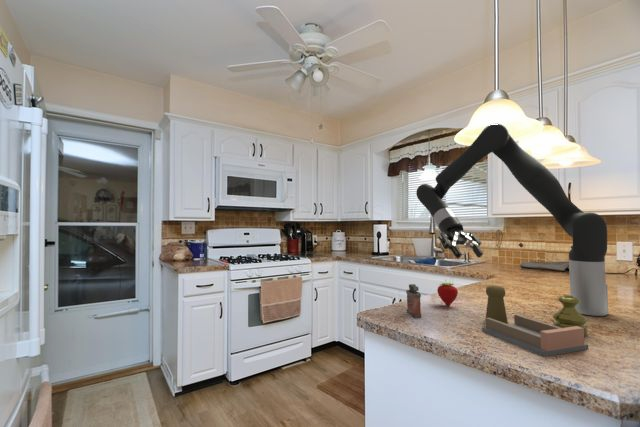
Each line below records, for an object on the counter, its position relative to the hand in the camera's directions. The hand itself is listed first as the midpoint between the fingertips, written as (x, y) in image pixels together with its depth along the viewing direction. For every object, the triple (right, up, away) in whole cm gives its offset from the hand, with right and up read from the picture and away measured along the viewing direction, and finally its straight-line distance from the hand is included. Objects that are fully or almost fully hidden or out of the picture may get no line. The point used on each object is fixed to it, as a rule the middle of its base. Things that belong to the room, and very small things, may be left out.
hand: (470, 256), depth 108 cm
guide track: (+3, -18, -26) cm, 32 cm away
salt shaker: (+18, -18, -21) cm, 33 cm away
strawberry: (-4, -19, +8) cm, 22 cm away
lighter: (-20, -19, -2) cm, 28 cm away
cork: (+2, -19, -12) cm, 22 cm away
